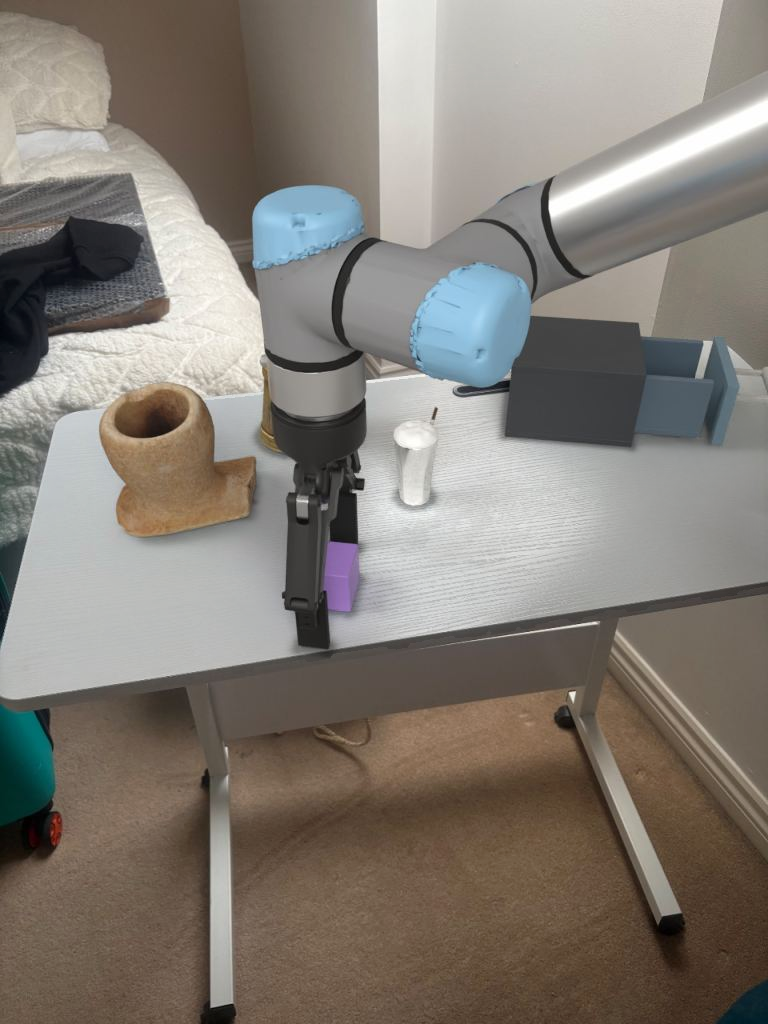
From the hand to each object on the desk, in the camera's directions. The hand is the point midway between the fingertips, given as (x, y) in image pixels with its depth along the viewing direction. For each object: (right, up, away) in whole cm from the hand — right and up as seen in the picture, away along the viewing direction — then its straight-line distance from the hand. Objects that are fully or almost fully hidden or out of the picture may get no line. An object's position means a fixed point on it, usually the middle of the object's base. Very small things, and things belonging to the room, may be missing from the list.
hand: (330, 591), depth 78 cm
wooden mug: (-4, +16, +20) cm, 25 cm away
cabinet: (+28, +20, +24) cm, 41 cm away
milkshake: (+9, +9, +12) cm, 17 cm away
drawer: (+41, +19, +21) cm, 50 cm away
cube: (0, 0, 0) cm, 0 cm away
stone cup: (-15, +7, +9) cm, 19 cm away
